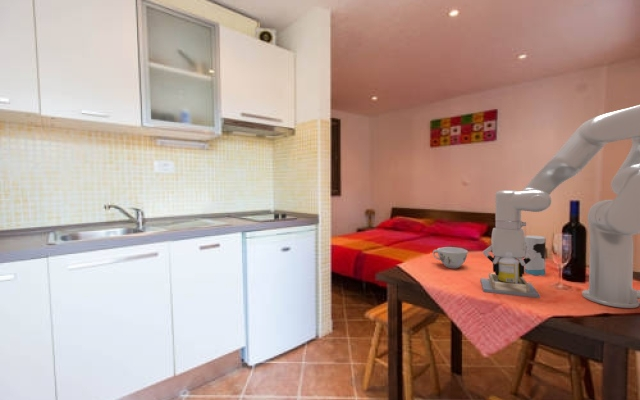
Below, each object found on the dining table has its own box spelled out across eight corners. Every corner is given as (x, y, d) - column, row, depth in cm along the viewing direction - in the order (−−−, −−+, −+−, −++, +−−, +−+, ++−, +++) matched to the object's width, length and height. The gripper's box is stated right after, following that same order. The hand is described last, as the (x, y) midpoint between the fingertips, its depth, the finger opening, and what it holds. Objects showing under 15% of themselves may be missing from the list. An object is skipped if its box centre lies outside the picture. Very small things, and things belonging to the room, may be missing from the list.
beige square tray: (522, 282, 104) (522, 275, 104) (529, 293, 95) (529, 285, 95) (488, 279, 109) (488, 273, 109) (492, 289, 99) (492, 282, 99)
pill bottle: (512, 279, 105) (512, 248, 104) (523, 286, 98) (523, 253, 97) (494, 280, 105) (493, 249, 105) (503, 286, 99) (503, 253, 98)
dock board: (530, 285, 104) (530, 282, 104) (539, 297, 93) (539, 294, 93) (480, 280, 111) (480, 278, 111) (483, 291, 100) (483, 289, 100)
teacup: (471, 265, 130) (471, 248, 129) (462, 272, 121) (462, 254, 120) (438, 260, 140) (438, 244, 140) (427, 266, 131) (427, 249, 131)
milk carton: (549, 275, 114) (549, 238, 113) (532, 275, 114) (533, 238, 113) (536, 270, 121) (536, 235, 120) (520, 270, 121) (521, 235, 120)
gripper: (535, 224, 100) (535, 274, 101) (479, 223, 108) (479, 269, 109) (541, 227, 93) (541, 281, 94) (481, 226, 101) (481, 275, 102)
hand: (508, 274), depth 101 cm, fingers closed on pill bottle, 6 cm apart
